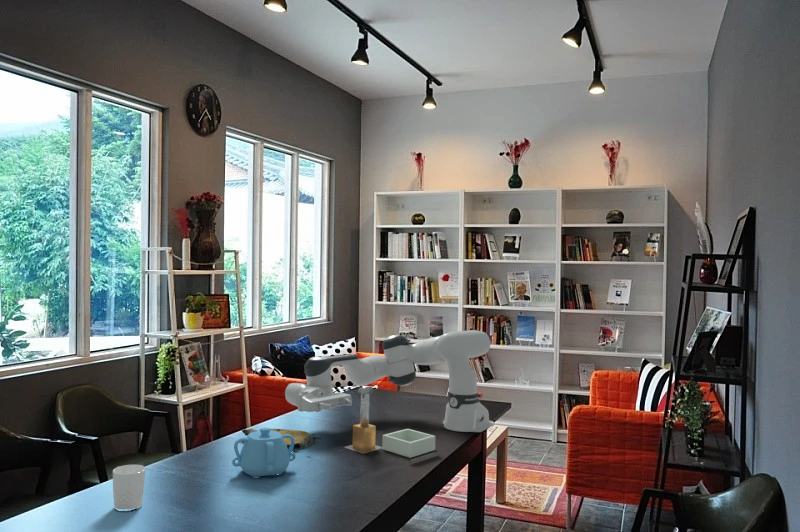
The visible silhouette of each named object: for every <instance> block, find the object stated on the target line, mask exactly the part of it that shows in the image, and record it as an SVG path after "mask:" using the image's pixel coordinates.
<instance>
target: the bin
mask: <svg viewBox="0 0 800 532" xmlns="http://www.w3.org/2000/svg"><path fill="white" fill-rule="evenodd" d="M381 442H382V443H381V445H382V446H381V447H382V449H381V450H384V451H387V452H391V453H394V454H397V455H400V456H404V457H407V458H412V459H408V462H411V461H415V460H418V459H421V457H422V458H424V456H425V457H428V456H430V455H434V454H436V451H435V450H436V435H433V434H429V433H426V432H422V431H418V430H414V429H411V428H404V429H400V430H397V431H393V432H390V433H385V434H382V441H381ZM427 453H428V454H427ZM423 454H424V455H423ZM420 455H422V456H420ZM417 456H419V457H417ZM413 457H415V458H413Z"/></svg>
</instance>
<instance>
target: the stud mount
mask: <svg viewBox="0 0 800 532" xmlns="http://www.w3.org/2000/svg"><path fill="white" fill-rule="evenodd" d="M343 448H344V449H348V450H352V451H353V452H358V453H359V454H362V455H364V454H368V453H370V452H375V451H378V450H383V449H382V446H379V445H376V444H375V448H372V449H369V450H365V451H362V450H359V449H356V448H353V447H352V444H349V445H347V446H343Z"/></svg>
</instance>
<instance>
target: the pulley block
mask: <svg viewBox="0 0 800 532" xmlns="http://www.w3.org/2000/svg"><path fill="white" fill-rule="evenodd" d="M270 429H271V431H277V432H279V433H280V434H281V435H284V434H289V435H291V436H293V437H294V440H295V443H294V447H293V450H292V451H294V452H293V453H300V451H298V450H296V449H300V450H302V449H303V450H304V449H306V448H308V447H309V448H310V447H311V446H312V444H313V443H315V441H316V440H323V438H320V437H317V436H314V435H315V434H314V433H312V434H310V433H308V432H306V431H304V430H299V429H284V428H283V429H282V428H270ZM256 431H258V430H257V429H253V428H249V429H245V428H243V429H242V430H241V432H242V433H243V434H244V436H246V437H247V436H248V434H249V433H251V432H256ZM284 441H285V443H286V445H287V448H288V450H289V447H290V444H291V439H290V438H288V437H287V438H284Z"/></svg>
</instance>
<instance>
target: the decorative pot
mask: <svg viewBox="0 0 800 532" xmlns="http://www.w3.org/2000/svg"><path fill="white" fill-rule="evenodd" d="M271 429H272V428H270V427H261V428H259V430H257V431H256V432H251V433H249V434H248V436H246V437H240V438H238V439H237V440H236V441H235V442H234V444H233V450H234V452H235V453H234V454H235V455H236V457H234V458H233V459H232V462H231V464H232V466H234V467H235V468H237V467H240V468H241V469H242V472H244V473H245V474H247V475H249V476H252V477H259V476H260V477H265V476H267V477H268V476H274V475H277V474H280V473H281V474H283V473H285V471H286V470H287V469H288V467H289V465H290V462H293V461H295V460H296V457H297V456H296V452H292V450H294V449H293V447H294V443H295V440H294V437H293V436H291V435H289V434H284V435H281V434H280V433H279V432H277V431H271ZM287 437H288V438H290V439H291V444H290V447H289V450H288V448H287V445H286V443H285V441H284V438H287ZM242 442H243V445H242V447H241V450H240V452H239V448H238V447H239V446H238V445H239V444H240V443H242ZM291 452H292V453H291ZM236 461H237V462H236ZM252 477H251V478H252ZM260 477H259V478H260Z"/></svg>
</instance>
